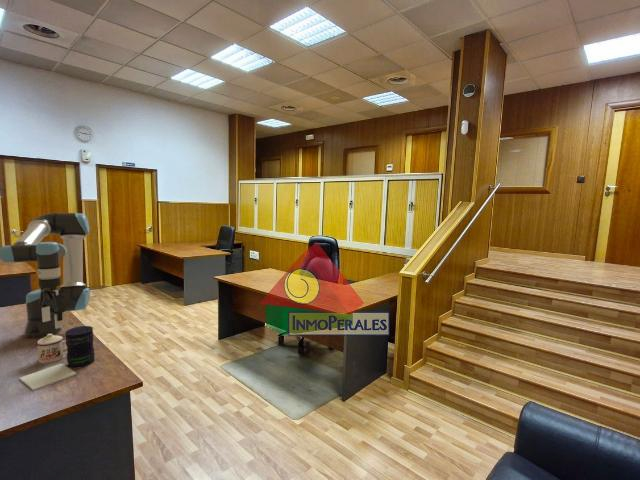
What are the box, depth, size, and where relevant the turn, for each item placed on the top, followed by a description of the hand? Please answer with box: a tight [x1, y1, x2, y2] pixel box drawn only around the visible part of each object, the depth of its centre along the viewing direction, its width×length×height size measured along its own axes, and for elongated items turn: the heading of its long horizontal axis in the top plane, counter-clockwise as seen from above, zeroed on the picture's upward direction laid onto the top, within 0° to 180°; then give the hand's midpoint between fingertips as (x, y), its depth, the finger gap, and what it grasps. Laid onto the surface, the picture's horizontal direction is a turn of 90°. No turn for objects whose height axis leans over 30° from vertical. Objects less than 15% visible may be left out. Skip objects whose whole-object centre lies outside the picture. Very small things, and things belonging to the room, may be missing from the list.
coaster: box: [19, 363, 77, 391], centre depth 132 cm, size 14×14×1 cm
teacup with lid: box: [36, 334, 67, 364], centre depth 146 cm, size 12×9×12 cm
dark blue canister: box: [65, 325, 96, 369], centre depth 143 cm, size 10×10×15 cm
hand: (52, 324), depth 145 cm, fingers open, 13 cm apart
